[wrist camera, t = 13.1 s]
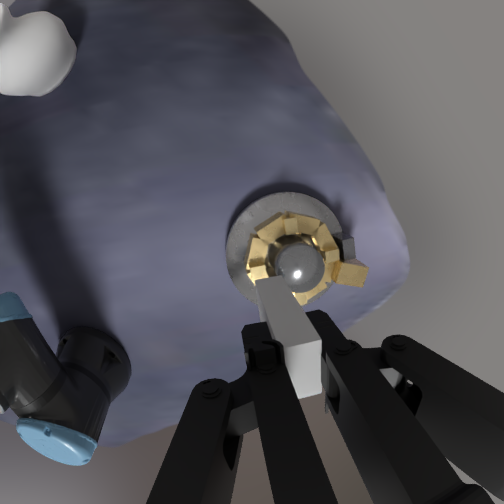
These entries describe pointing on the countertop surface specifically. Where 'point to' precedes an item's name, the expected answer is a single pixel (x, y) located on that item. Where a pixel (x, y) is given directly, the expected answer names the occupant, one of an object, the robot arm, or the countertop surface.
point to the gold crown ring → (294, 223)
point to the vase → (33, 53)
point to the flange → (284, 245)
